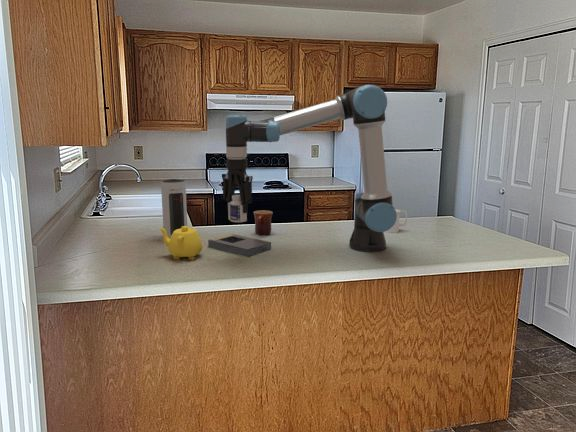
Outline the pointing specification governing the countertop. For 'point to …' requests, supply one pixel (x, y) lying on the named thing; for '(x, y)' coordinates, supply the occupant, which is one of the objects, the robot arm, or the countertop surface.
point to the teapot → (183, 242)
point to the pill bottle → (235, 208)
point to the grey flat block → (239, 245)
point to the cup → (397, 222)
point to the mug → (263, 222)
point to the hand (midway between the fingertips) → (237, 220)
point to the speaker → (173, 205)
